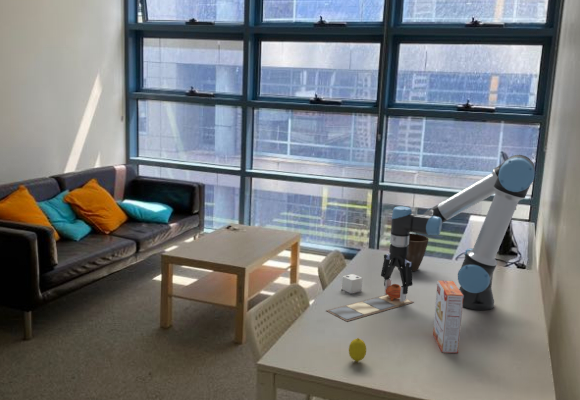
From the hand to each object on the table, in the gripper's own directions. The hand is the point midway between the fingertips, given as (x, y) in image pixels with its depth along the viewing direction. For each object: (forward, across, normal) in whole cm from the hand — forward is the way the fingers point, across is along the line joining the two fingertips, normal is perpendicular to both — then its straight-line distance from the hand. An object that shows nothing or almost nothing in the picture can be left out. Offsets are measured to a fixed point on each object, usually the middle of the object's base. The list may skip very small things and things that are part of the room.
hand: (394, 297), depth 237 cm
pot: (+1, 0, 0) cm, 1 cm away
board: (+1, 0, -14) cm, 14 cm away
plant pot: (+1, -25, +38) cm, 45 cm away
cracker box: (+2, +38, -16) cm, 41 cm away
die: (+1, -18, -8) cm, 20 cm away
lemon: (+1, +31, -50) cm, 59 cm away
